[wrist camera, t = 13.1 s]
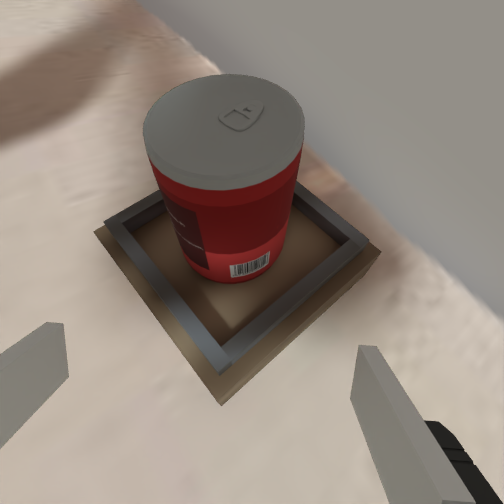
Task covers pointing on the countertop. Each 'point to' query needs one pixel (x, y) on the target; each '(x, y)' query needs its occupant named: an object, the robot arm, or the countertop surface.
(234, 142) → the canned food
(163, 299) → the square wooden tray
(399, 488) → the robot arm
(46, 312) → the countertop surface
